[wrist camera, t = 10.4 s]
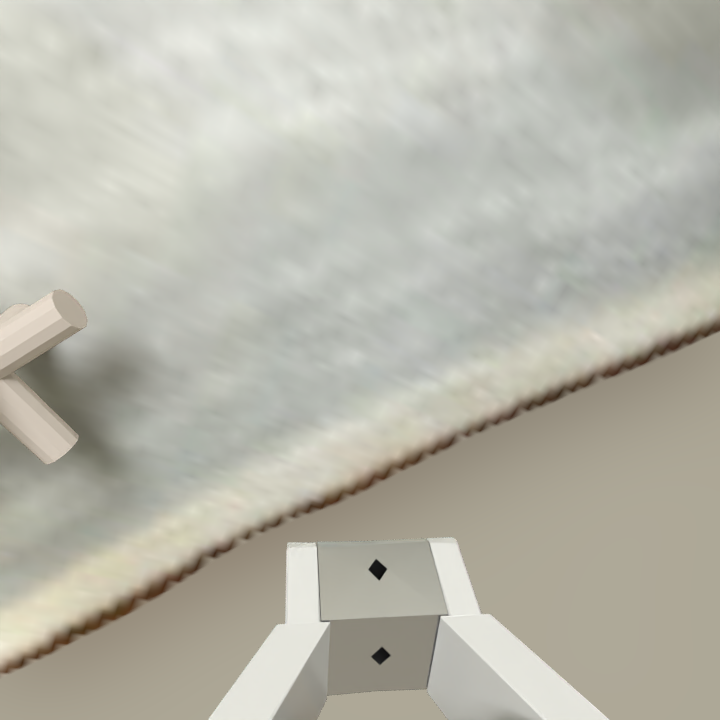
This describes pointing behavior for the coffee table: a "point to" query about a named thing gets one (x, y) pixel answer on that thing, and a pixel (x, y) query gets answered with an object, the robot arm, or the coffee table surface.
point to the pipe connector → (20, 346)
